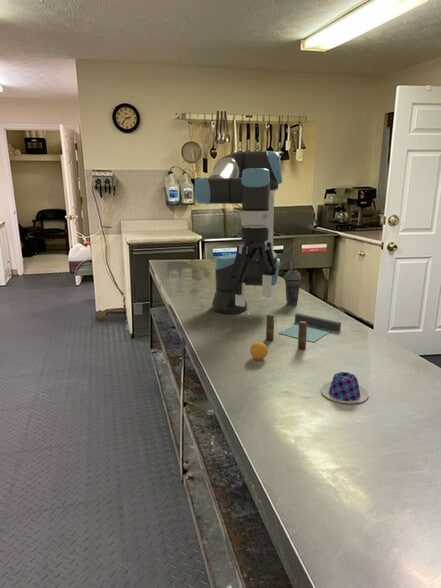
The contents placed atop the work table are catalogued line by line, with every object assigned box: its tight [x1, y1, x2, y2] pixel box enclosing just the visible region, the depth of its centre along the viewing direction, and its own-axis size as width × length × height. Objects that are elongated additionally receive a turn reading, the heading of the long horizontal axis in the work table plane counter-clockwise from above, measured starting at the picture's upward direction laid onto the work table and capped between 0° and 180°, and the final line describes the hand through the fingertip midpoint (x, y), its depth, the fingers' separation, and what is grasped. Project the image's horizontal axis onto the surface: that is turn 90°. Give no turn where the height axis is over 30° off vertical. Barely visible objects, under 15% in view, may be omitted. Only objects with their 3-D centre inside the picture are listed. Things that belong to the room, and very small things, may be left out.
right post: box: [297, 321, 307, 351], centre depth 142 cm, size 3×3×9 cm
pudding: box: [320, 371, 369, 404], centre depth 113 cm, size 12×12×5 cm
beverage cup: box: [284, 259, 302, 307], centre depth 189 cm, size 7×7×20 cm
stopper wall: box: [294, 313, 342, 333], centre depth 164 cm, size 18×2×3 cm, turn 51°
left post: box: [265, 313, 275, 342], centre depth 150 cm, size 3×3×9 cm
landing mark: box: [278, 322, 332, 343], centre depth 157 cm, size 14×14×1 cm
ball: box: [249, 341, 269, 361], centre depth 134 cm, size 6×6×6 cm
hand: (253, 301), depth 124 cm, fingers open, 13 cm apart
